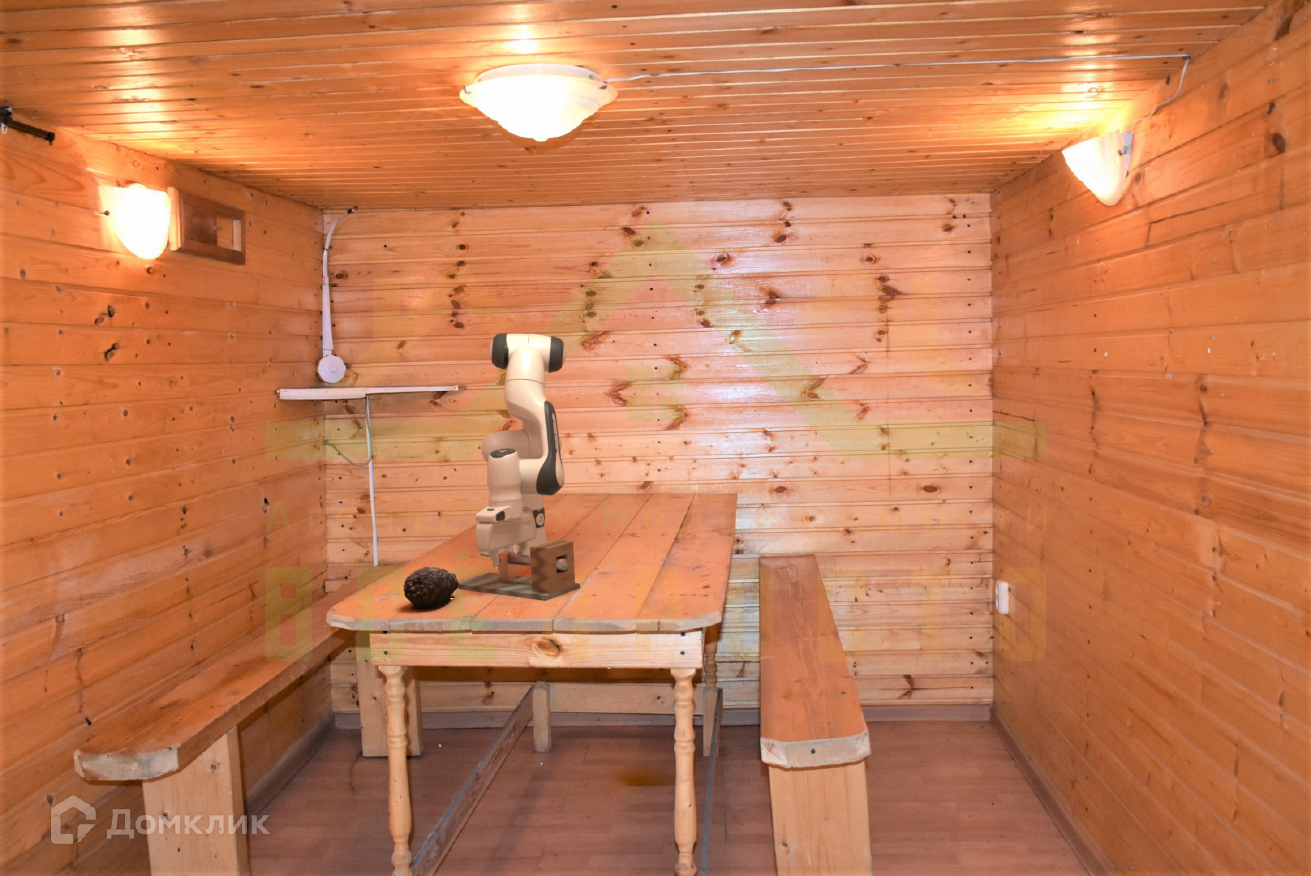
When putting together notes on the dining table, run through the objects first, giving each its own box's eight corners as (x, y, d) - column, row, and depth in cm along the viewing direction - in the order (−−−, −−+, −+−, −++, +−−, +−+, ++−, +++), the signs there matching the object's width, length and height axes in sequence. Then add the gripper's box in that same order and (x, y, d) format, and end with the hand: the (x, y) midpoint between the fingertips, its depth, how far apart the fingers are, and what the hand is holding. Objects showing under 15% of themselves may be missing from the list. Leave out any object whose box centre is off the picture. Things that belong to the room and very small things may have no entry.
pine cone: (464, 594, 240) (462, 556, 240) (439, 613, 223) (436, 572, 222) (426, 594, 242) (423, 556, 241) (398, 613, 224) (395, 572, 223)
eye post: (452, 587, 248) (450, 540, 247) (489, 576, 260) (486, 531, 259) (545, 600, 231) (543, 550, 230) (580, 587, 242) (577, 539, 241)
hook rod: (499, 580, 246) (497, 553, 246) (507, 577, 249) (506, 551, 248) (561, 588, 235) (560, 560, 234) (569, 585, 237) (568, 557, 237)
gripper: (522, 504, 255) (525, 554, 256) (470, 516, 238) (473, 569, 239) (540, 505, 252) (543, 556, 253) (488, 517, 235) (492, 571, 236)
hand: (509, 562), depth 246 cm, fingers open, 8 cm apart
